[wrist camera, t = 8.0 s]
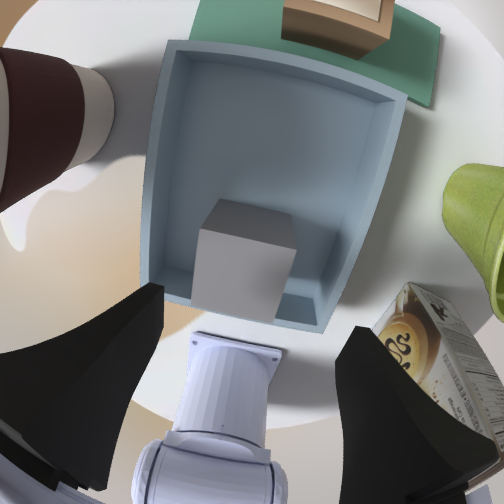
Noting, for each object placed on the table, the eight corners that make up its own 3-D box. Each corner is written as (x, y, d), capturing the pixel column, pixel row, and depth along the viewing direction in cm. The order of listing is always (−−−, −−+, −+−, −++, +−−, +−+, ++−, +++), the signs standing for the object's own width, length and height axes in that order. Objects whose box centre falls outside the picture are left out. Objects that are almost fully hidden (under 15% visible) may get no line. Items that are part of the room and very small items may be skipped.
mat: (423, 106, 13) (428, 106, 13) (192, 44, 13) (188, 41, 12) (434, 30, 10) (440, 27, 10) (216, -32, 10) (213, -37, 9)
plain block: (273, 275, 19) (272, 323, 15) (209, 260, 19) (190, 305, 14) (291, 214, 17) (296, 250, 13) (219, 198, 17) (199, 228, 12)
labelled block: (357, 60, 12) (390, 39, 8) (280, 39, 12) (283, 5, 7) (367, 4, 10) (397, -29, 5) (294, -18, 10) (301, -60, 5)
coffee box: (395, 368, 24) (432, 509, 9) (346, 356, 23) (373, 526, 9) (452, 301, 20) (533, 447, 5) (407, 278, 19) (501, 466, 5)
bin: (316, 302, 20) (322, 333, 17) (158, 267, 20) (140, 293, 17) (383, 98, 14) (407, 94, 10) (188, 53, 13) (168, 39, 10)
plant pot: (397, 210, 17) (468, 277, 9) (466, 113, 13) (555, 128, 5) (459, 276, 18) (512, 343, 11) (517, 195, 15) (583, 237, 7)
